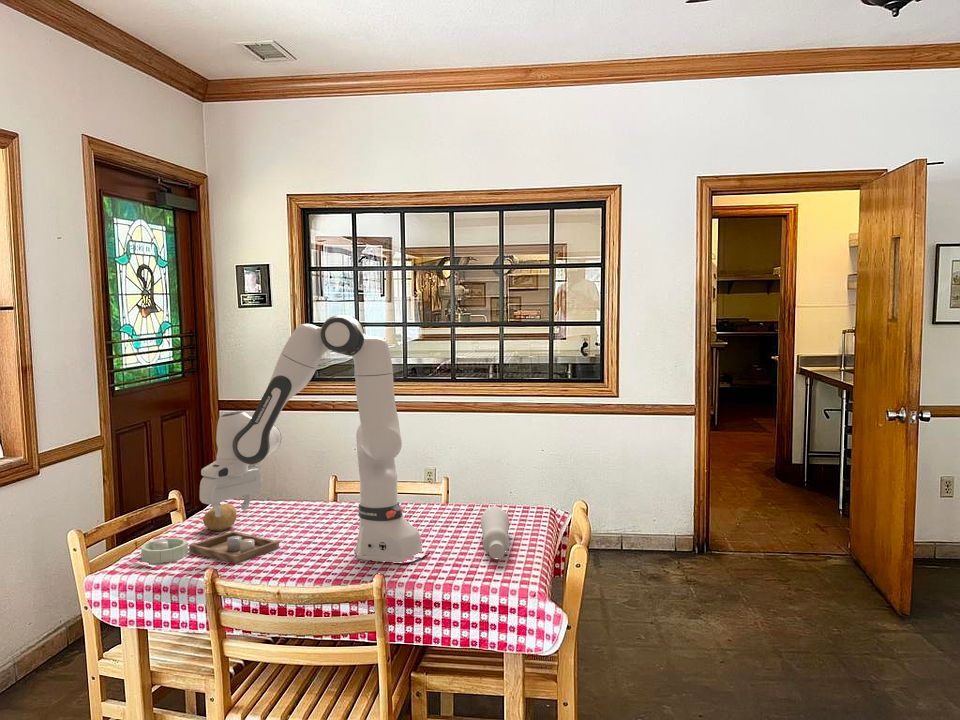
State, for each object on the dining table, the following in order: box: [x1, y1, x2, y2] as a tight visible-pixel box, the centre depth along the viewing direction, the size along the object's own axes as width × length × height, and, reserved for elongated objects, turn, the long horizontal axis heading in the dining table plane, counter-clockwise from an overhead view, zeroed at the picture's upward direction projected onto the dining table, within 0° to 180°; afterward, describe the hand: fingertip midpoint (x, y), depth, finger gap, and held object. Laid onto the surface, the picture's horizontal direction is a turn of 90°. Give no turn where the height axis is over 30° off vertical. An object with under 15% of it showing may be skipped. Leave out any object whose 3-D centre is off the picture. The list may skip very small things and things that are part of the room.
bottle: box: [480, 505, 511, 559], centre depth 213 cm, size 9×9×30 cm
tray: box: [188, 530, 280, 565], centre depth 209 cm, size 20×16×3 cm
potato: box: [202, 503, 238, 532], centre depth 231 cm, size 10×14×8 cm
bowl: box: [140, 537, 189, 564], centre depth 204 cm, size 12×12×4 cm
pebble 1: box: [153, 540, 168, 550], centre depth 204 cm, size 4×4×4 cm
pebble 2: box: [227, 536, 242, 552], centre depth 209 cm, size 4×4×4 cm
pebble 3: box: [240, 539, 254, 553], centre depth 206 cm, size 4×4×4 cm
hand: (232, 512), depth 208 cm, fingers open, 8 cm apart
